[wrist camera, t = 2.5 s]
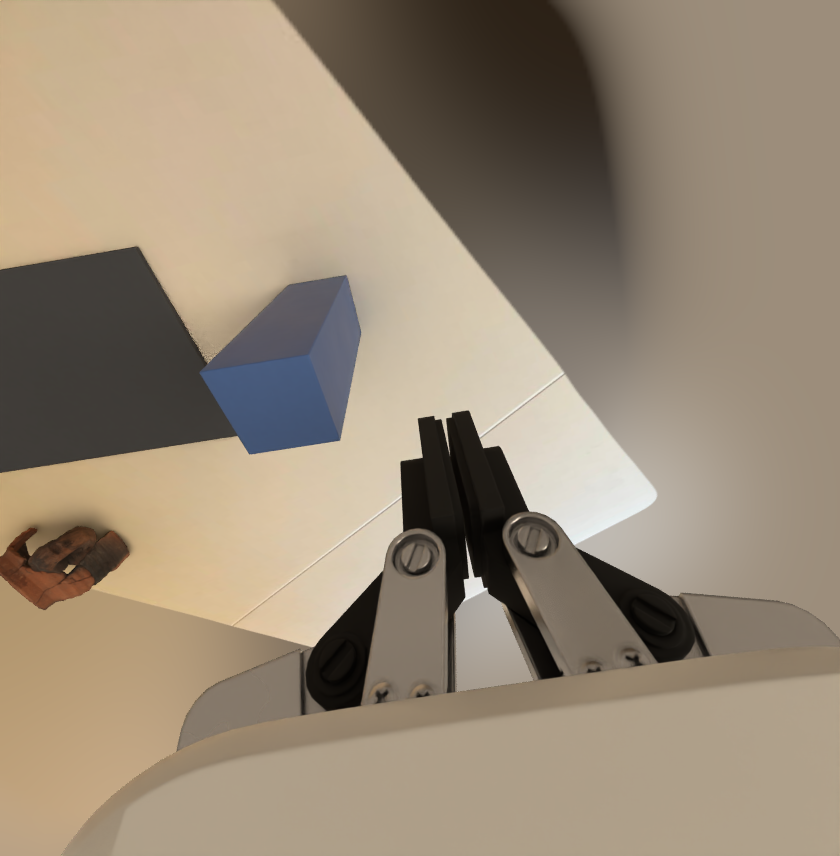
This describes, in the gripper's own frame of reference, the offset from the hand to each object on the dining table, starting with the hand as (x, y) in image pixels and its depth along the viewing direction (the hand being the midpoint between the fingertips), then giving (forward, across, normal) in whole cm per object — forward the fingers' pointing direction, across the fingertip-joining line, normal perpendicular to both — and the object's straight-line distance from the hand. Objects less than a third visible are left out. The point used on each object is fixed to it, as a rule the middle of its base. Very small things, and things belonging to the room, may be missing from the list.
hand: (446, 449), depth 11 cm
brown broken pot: (+19, +43, +20) cm, 51 cm away
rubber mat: (+18, +33, +1) cm, 37 cm away
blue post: (+18, +7, -1) cm, 19 cm away
